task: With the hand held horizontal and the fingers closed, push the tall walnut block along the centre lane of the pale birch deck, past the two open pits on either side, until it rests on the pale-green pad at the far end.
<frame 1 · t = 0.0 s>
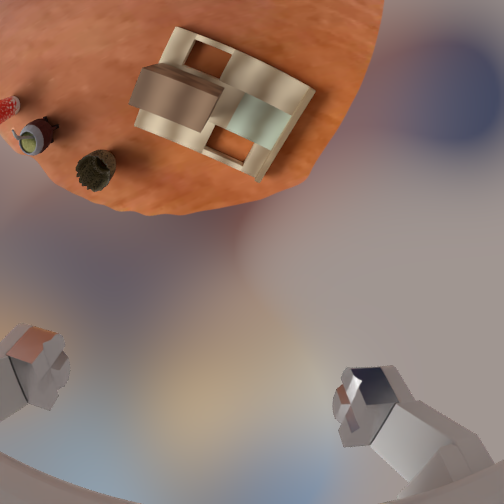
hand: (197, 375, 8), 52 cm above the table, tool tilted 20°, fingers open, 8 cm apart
block: (185, 89, 47), point 2 cm above the table, touching deck
beverage cup: (13, 105, 47), on the table
deck: (220, 101, 51), on the table
cup: (108, 157, 57), on the table
mate gourd: (49, 127, 52), on the table
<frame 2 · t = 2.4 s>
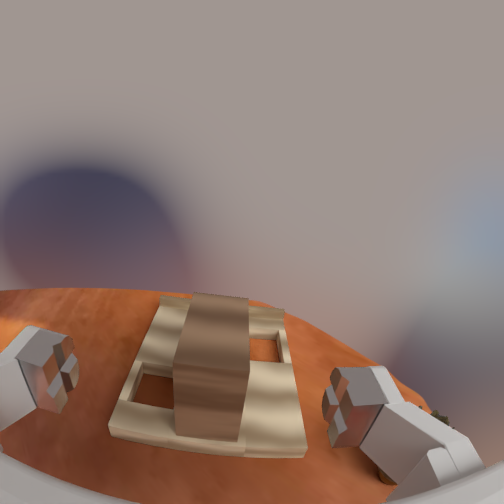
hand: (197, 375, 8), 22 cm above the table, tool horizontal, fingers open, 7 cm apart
block: (210, 398, 32), point 2 cm above the table, touching deck
deck: (214, 373, 38), on the table
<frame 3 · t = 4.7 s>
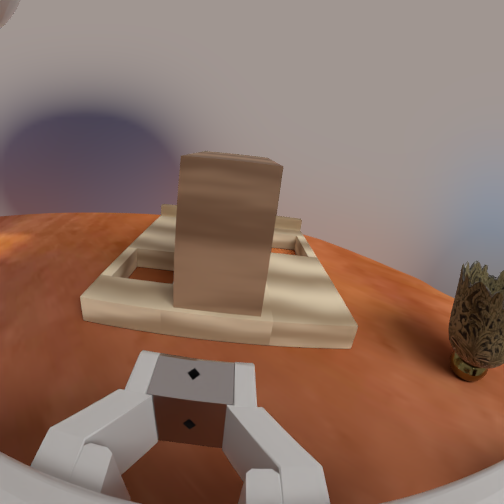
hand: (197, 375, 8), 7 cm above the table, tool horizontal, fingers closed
block: (221, 276, 26), point 2 cm above the table, touching deck
deck: (224, 268, 33), on the table
cup: (464, 373, 19), on the table
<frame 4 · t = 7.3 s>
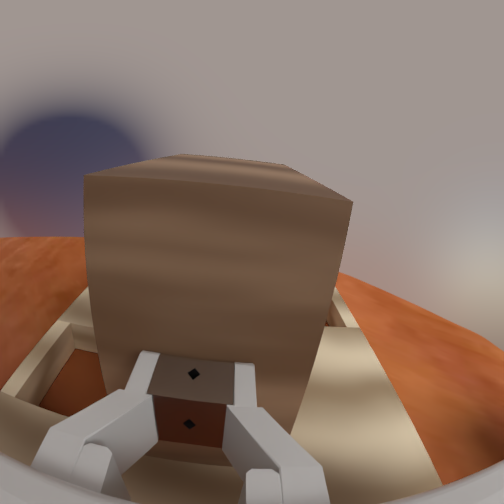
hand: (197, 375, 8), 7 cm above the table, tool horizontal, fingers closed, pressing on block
block: (210, 367, 15), point 2 cm above the table, touching gripper
deck: (212, 351, 20), on the table
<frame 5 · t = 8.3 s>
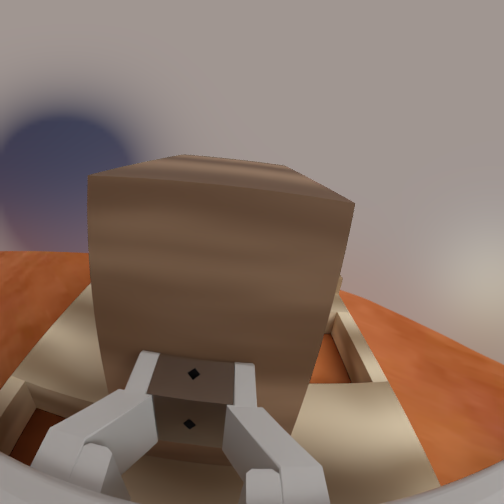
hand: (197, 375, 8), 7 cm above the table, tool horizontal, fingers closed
block: (210, 367, 15), point 2 cm above the table
deck: (203, 416, 14), on the table
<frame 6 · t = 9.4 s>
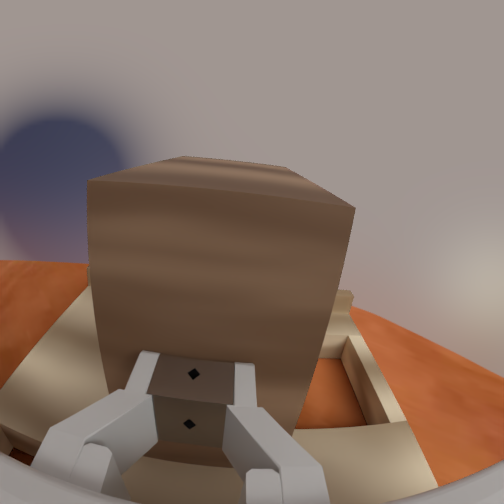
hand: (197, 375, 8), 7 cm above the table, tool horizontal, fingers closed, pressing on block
block: (211, 369, 15), point 2 cm above the table, touching deck, gripper
deck: (197, 464, 11), on the table
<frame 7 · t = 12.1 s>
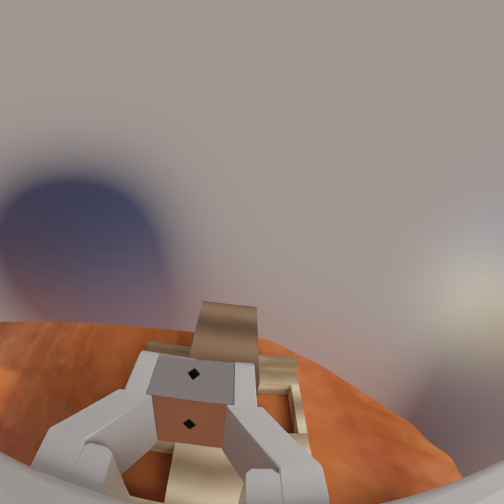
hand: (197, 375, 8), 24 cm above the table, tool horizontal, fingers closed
block: (219, 403, 32), point 2 cm above the table, touching deck
deck: (213, 445, 29), on the table
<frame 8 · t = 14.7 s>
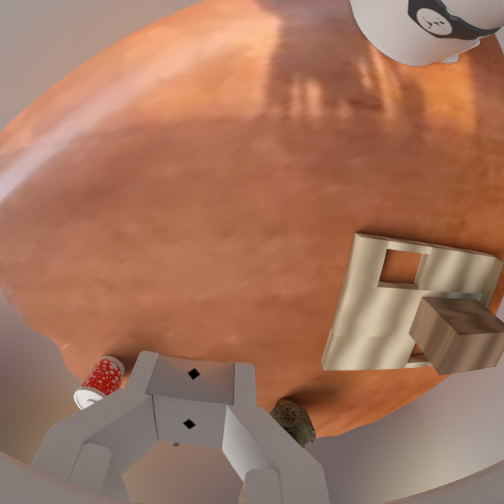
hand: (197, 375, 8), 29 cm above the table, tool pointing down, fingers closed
block: (444, 316, 40), point 2 cm above the table, touching deck
beverage cup: (112, 365, 44), on the table
deck: (415, 307, 41), on the table
cup: (285, 402, 47), on the table
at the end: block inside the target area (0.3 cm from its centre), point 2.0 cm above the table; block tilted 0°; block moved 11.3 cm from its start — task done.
